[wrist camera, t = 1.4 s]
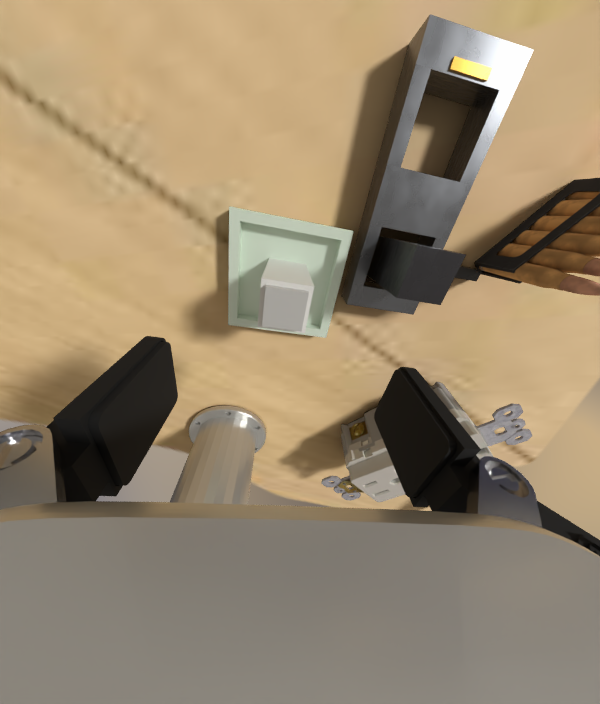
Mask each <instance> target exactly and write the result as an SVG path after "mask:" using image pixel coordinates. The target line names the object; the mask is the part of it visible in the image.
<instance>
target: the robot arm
mask: <svg viewBox="0 0 600 704" xmlns="http://www.w3.org/2000/svg"><path fill="white" fill-rule="evenodd" d="M177 397H178V393H177V386H176V379H175V373H174V366H173V359H172V352H171V346H170V343H168V342H166V341H165V339H164V338H159V337H151V336H146V337H144V338H143V339H142V340H141V341H140V342H139V343H137V344H136V345H135V346H134V347H133V348H132V349H131V350H130V351H128V352H127V353H126V354H125V355H124V356H123V357H122V358H121V359H119V360H118V361H117V362H116V363H115V364H114V365H113V366H111V367H110V368H109V369H108V370H107V371H106V372H105V373H104V374H102V375H101V376H100V377H99V378H98V379H97V380H96V381H95V382H93V383H92V384H91V385H90V386H89V387H88V388H87V389H86V390H84V391H83V392H82V393H81V394H80V395H79V396H78V397H76V398H75V399H74V400H73V401H72V402H71V403H70V404H69V405H67V406H66V407H65V408H64V409H63V410H62V411H61V412H60V413H58V414H57V415H56V416H55V417H54V418H53V419H54V421H53V422H52V423H51V424H49V425H48V426H47V427H45V426H42V425H23V426H18V427H14V428H10V429H7V430H4V431H2V432H0V704H600V540H599V539H597V538H595V537H593V536H592V535H591V534H589V533H587V532H586V531H584V530H583V529H581V528H579V527H578V526H576V525H575V524H573V523H571V522H570V521H568V520H567V519H565V518H564V517H562V516H560V515H559V514H557V513H556V512H554V511H552V510H551V509H549V508H548V507H546V506H544V505H543V504H541V503H540V502H538V501H537V499H536V494H535V492H534V489H533V487H532V486H531V484H530V483H529V481H528V480H527V479H526V478H525V477H524V476H523V475H522V474H521V473H520V472H519V471H518V470H516V469H515V468H514V467H512V466H511V465H509V464H508V463H506V462H504V461H502V460H500V459H498V458H495V457H491V456H484V457H483V458H481V459H479V458H478V457H477V454H478V452H479V451H480V450H481V449H480V448H479V446H478V445H477V444H476V443H475V441H474V440H473V439H472V438H471V436H470V435H469V434H468V433H467V431H466V430H465V429H464V428H463V426H462V425H461V424H460V423H459V422H458V420H457V419H456V418H455V417H454V415H453V414H452V413H451V412H450V410H449V409H448V408H447V407H446V405H445V404H444V403H443V402H442V401H441V399H440V398H439V397H438V396H437V394H436V393H435V392H434V391H433V389H432V388H431V387H430V386H429V384H428V383H427V382H426V381H425V380H424V378H423V377H422V376H421V375H420V373H419V372H418V371H417V370H416V369H414V368H408V367H400V368H399V369H398V370H395V372H394V374H393V376H392V378H391V380H390V382H389V384H388V386H387V388H386V390H385V392H384V394H383V396H382V398H381V400H380V402H379V405H378V407H377V409H376V411H375V413H374V420H375V422H376V425H377V427H378V430H379V432H380V434H381V437H382V439H383V442H384V444H385V446H386V449H387V451H388V454H389V456H390V459H391V461H392V463H393V466H394V468H395V471H396V473H397V475H398V478H399V480H400V483H401V485H402V488H403V490H404V492H405V494H406V495H407V496H408V497H410V500H411V502H412V504H413V507H428V505H429V506H430V508H431V510H432V511H414V510H389V509H363V508H335V507H303V506H274V505H248V497H249V490H250V483H251V476H252V468H253V461H254V453H256V452H257V451H259V450H260V449H261V448H262V446H263V445H264V443H265V439H266V428H265V426H264V424H263V422H262V421H261V420H260V418H258V417H257V416H256V415H255V414H253V413H252V412H250V411H248V410H245V409H243V408H239V407H235V406H215V407H210V408H207V409H205V410H203V411H201V412H199V413H198V414H197V415H196V416H195V417H194V419H193V420H192V422H191V424H190V427H189V437H190V439H191V441H192V442H193V446H192V448H191V451H190V453H189V456H188V458H187V461H186V463H185V466H184V468H183V471H182V474H181V476H180V478H179V481H178V483H177V485H176V488H175V490H174V493H173V495H172V498H171V500H170V502H167V503H166V502H98V501H96V500H97V498H98V497H99V496H117V494H118V493H119V491H120V489H121V488H122V486H123V485H127V484H128V483H129V482H130V481H131V479H132V478H133V476H134V474H135V473H136V471H137V469H138V467H139V466H140V464H141V462H142V460H143V459H144V457H145V455H146V454H147V452H148V450H149V448H150V447H151V445H152V443H153V442H154V440H155V438H156V436H157V435H158V433H159V431H160V429H161V428H162V426H163V424H164V423H165V421H166V419H167V417H168V416H169V414H170V412H171V411H172V409H173V407H174V405H175V404H176V401H177Z"/></svg>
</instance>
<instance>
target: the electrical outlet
mask: <svg viewBox="0 0 600 704" xmlns="http://www.w3.org/2000/svg"><path fill="white" fill-rule="evenodd" d="M430 387H431V388H432V389H433V391H434V392H435V393H436V394H437V396H438V397H439V398H440V399H441V401H442V402H443V403H444V404H445V405H446V407H447V408H448V409H449V410H450V412H451V413H452V414H453V415H454V417H455V418H456V419H457V420H458V422H459V423H460V424H461V425H462V426H463V428H464V429H465V430H466V431H467V433H468V434H469V435H470V436H471V438H472V439H473V440H474V441H475V443H476V444H477V445H478V446H479V448H480V449H481V450H480V451H479V452H478V454H477V457H478V458H479V459H481V458H483V457H484V456H491V457H493V455H492V453H491V452H490V450H489V448H488V447H487V446H491V445H494V444H497V443H500V442H503V441H505V442H506V443H507V444H508V445H515V444H518V443H521V442H524V441H527V440H528V439H530V438H531V437H532V434H531V431H530V430H529V429H521V428H522V427H523V426H524V425H525V421H524V420H523V419H517V418H518V417H519V416H520V415H521V414H522V413H523V410H522V408H521V406H520V405H519V404H509V405H507V406H504V407H502V408H499V409H497V410H496V411H495V412H494V413H493V414H492V416H493V418H494V420H492V421H490V422H487V423H485V424H482V425H479V426H476V425H475V424H474V423H473V422H472V421H471V419H470V418H469V417H468V415H467V414H466V413H465V412H464V410H463V409H462V408H461V406H460V405H459V404H458V402H457V401H456V400H455V399H454V397H453V396H452V395H451V393H450V392H449V391H448V390H447V388H446V387H445V386H444V385H443V384H442V383H440V382H436V383H435V384H434V385H433V386H430ZM376 409H377V408H375V409H373V410H371V411H368V412H366V413H364V417H362V418H360V419H358V420H356V421H354V422H352V423H349V424H348V425H344V424H342V425H341V429H342V434H341V439H342V445H343V451H344V457H345V462H346V468H347V469H348V470H349V474H350V476H347V477H345V478H342V479H340V478H339V477H337V476H329V477H327V478H324V479H322V484H323V485H324V486H326V487H334V486H335V487H334V491H335V492H336V493H342V498H344V499H345V500H354V499H357V498H359V497H360V495H361V494H360V493H359V492H365V493H366V494H367V495H369V496H370V497H371V498H373V499H374V500H375V501H377V502H383V501H386V500H389V499H392V498H395V497H398V496H401V495H404V494H405V492H404V490H403V488H402V485H401V483H400V480H399V478H398V475H397V473H396V471H395V468H394V466H393V463H392V461H391V459H390V456H389V454H388V451H387V449H386V446H385V444H384V442H383V439H382V437H381V434H380V432H379V430H378V427H377V425H376V422H375V420H374V413H375V411H376ZM507 411H511V413H509V414H507V415H503V414H504V413H505V412H507ZM515 418H516V419H515ZM512 419H513V420H512ZM516 425H517V426H516ZM500 427H504V428H505V431H504V432H502V433H498V434H495V433H494V430H496V429H498V428H500ZM516 430H517V431H516ZM518 436H521V437H520V438H517V439H515V437H518ZM328 481H334V482H328ZM347 485H351V486H352V487H351V488H348V487H346V486H347ZM349 495H354V496H349Z"/></svg>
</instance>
